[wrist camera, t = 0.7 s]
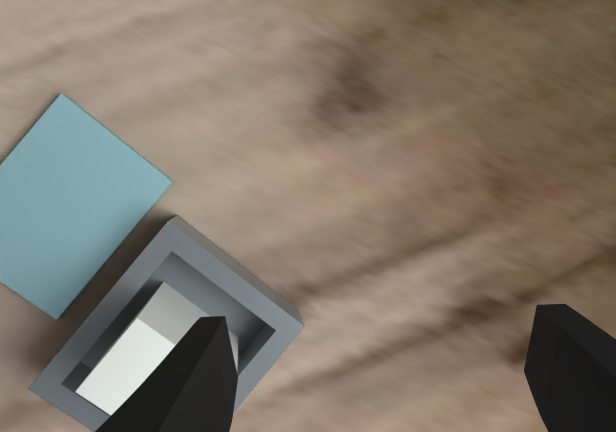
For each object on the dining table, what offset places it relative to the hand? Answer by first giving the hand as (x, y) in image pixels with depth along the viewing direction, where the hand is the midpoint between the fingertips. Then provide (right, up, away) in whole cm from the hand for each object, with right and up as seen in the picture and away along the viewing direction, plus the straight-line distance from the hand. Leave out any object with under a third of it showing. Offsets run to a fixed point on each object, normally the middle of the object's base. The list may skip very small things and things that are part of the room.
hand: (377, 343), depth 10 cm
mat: (-17, +3, +16) cm, 24 cm away
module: (-10, -5, +18) cm, 21 cm away
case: (-10, -5, +18) cm, 21 cm away
